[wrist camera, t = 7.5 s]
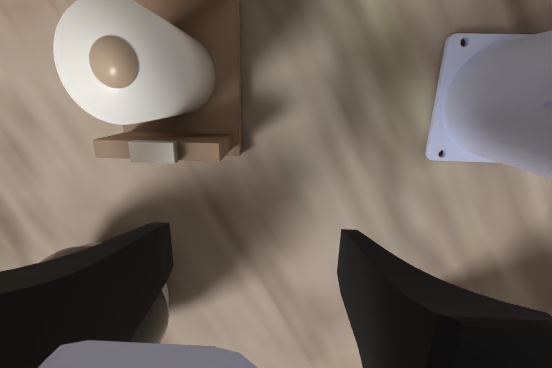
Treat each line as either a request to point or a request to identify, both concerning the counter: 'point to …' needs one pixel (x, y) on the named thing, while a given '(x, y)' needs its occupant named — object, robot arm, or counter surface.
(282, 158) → the counter surface
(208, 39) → the holder
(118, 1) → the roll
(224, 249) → the counter surface
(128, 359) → the robot arm
